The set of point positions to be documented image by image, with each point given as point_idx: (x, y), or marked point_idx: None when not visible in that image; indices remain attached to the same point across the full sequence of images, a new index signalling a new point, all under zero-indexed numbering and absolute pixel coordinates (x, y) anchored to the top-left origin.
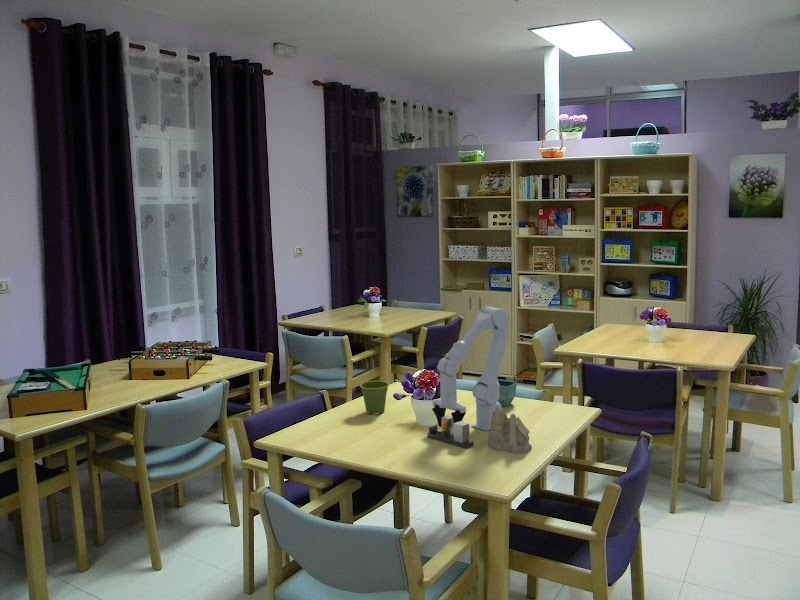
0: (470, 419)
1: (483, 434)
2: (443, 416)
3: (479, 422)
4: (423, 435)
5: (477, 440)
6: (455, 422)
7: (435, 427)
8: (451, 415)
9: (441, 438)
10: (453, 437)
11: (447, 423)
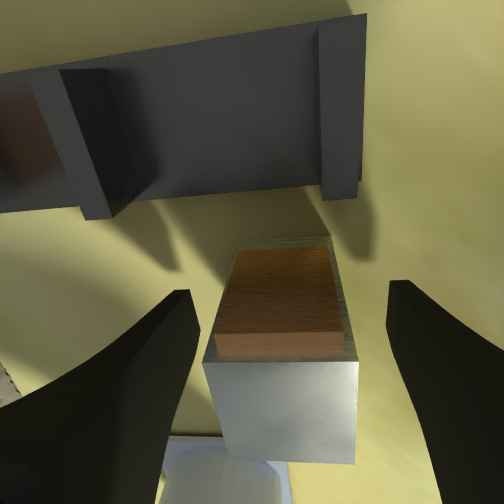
0: (390, 500)
1: None
2: (356, 390)
3: (211, 480)
4: (446, 17)
5: (20, 303)
6: (105, 350)
7: (320, 156)
8: (306, 458)
9: (106, 57)
10: (26, 162)
11: (223, 304)
